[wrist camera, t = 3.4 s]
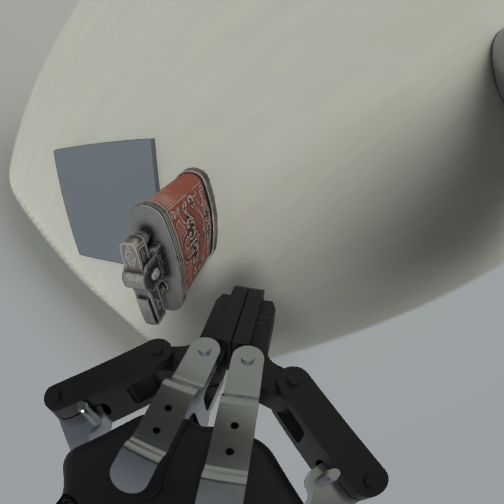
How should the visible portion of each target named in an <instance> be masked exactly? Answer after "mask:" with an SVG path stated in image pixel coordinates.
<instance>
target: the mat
mask: <svg viewBox="0 0 504 504" xmlns="http://www.w3.org/2000/svg"><path fill="white" fill-rule="evenodd" d="M54 157H55V162H56V168H57V173H58V178H59V182H60V187H61V191H62V196H63V200H64V204H65V208H66V211H67V215H68V219H69V222H70V226H71V229H72V232H73V236H74V239H75V242H76V245H77V248H78V251H79V254H80V255H83V256H87V257H92V258H97V259H101V260H106V261H111V262H116V263H121V264H124V261H123V258H122V255H121V251H120V244H121V243H122V242H123V241H125V240H126V239H127V238H128V237H129V230H128V213H129V212H130V210H131V209H132V208H133V207H135V206H136V205H137V204H139V203H140V202H142V201H147V200H148V199H150V198H151V197H152V196H154V195H155V194H156V193H158V192H159V191H160V189H159V181H158V172H157V162H156V151H155V139H154V138H152V139H137V140H125V141H114V142H105V143H96V144H89V145H82V146H75V147H68V148H62V149H57V150H55V151H54Z"/></svg>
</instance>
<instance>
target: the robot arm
mask: <svg viewBox="0 0 504 504" xmlns="http://www.w3.org/2000/svg"><path fill="white" fill-rule="evenodd" d="M492 61H493V70H494V74H495V79H496V82H497V85H498V88H499V92H500V94H501V96H502V98H503V101H504V29H503V30H501V31H500V32H499V33H498V34H497V36H496V37H495V40H494V43H493V49H492ZM274 317H275V307H274V304H273V302H272V301H265V300H264V290H261V289H254V288H250V289H249V288H247V287H241V286H234V289H233V291H232V294H231V295H228V294H223V295H221V296H220V297H219V298H218V299H217V300H216V302H215V304H214V307H213V309H212V311H211V314H210V316H209V318H208V320H207V323H206V325H205V327H204V330H203V332H202V334H201V336H200V338H198V339H196V340H195V341H193V342H192V343H191V345H188V346H179V347H171V345H170V343H169V342H168V341H166V340H164V339H153V340H150V341H148V342H146V343H144V344H142V345H140V346H138V347H136V348H134V349H132V350H130V351H128V352H125V353H123V354H121V355H119V356H117V357H115V358H113V359H111V360H108V361H106V362H104V363H102V364H100V365H98V366H95V367H93V368H91V369H89V370H87V371H84V372H82V373H80V374H78V375H76V376H73V377H71V378H69V379H66V380H64V381H62V382H60V383H57V384H55V385H53V386H51V387H49V388H48V389H47V391H46V393H45V395H44V402H45V405H46V406H47V407H48V408H49V409H50V410H51V411H52V412H53V413H54V414H55V415H56V416H57V417H58V418H59V421H60V424H61V426H62V429H63V432H64V435H65V437H66V440H67V442H68V445H69V447H70V450H71V451H70V452H69V453H68V455H67V456H66V458H65V460H64V464H63V473H64V489H63V494H62V496H61V498H60V499H59V501H58V502H57V503H56V504H303V502H302V500H301V499H300V497H299V496H298V494H297V492H296V491H295V489H294V488H293V486H292V485H291V483H290V482H289V480H288V478H287V477H286V475H285V473H284V472H283V470H282V468H281V467H280V465H279V463H278V462H277V460H276V458H275V456H274V455H273V453H272V452H271V451H270V449H269V448H268V447H267V446H265V445H264V444H263V443H262V442H260V441H259V440H257V439H255V438H254V433H255V426H256V419H257V412H258V404H259V403H260V404H263V405H264V406H266V407H268V408H270V409H272V412H273V414H274V415H275V417H276V418H277V420H278V421H279V423H280V424H281V426H282V427H283V429H284V430H285V432H286V434H287V435H288V436H289V438H290V439H291V441H292V442H293V444H294V445H295V447H296V448H297V450H298V451H299V453H300V454H301V455H302V457H303V458H304V460H305V461H306V462H307V464H308V465H309V467H310V468H311V469H312V470H311V471H310V472H309V473H308V474H307V475H306V477H305V480H304V486H305V488H306V490H307V494H308V497H307V501H306V503H305V504H355V503H357V502H358V501H361V500H364V499H368V498H371V497H374V496H377V495H378V494H380V493H382V492H383V491H384V490H385V488H386V486H387V484H388V474H387V472H386V471H385V469H384V468H383V467H382V466H381V464H380V463H379V462H378V461H377V460H376V459H375V457H374V456H373V455H372V454H371V452H370V451H369V450H368V449H367V448H366V446H365V445H364V444H363V443H362V442H361V440H360V439H359V438H358V436H357V435H356V434H355V433H354V432H353V430H352V429H351V428H350V427H349V425H348V424H347V423H346V422H345V420H344V419H343V418H342V417H341V415H340V414H339V413H338V412H337V410H336V409H335V408H334V406H333V405H332V404H331V403H330V401H329V400H328V399H327V398H326V396H325V395H324V394H323V392H322V391H321V390H320V389H319V387H318V386H317V385H316V383H315V382H314V381H313V379H312V378H311V377H310V376H309V374H308V373H307V372H306V371H305V370H303V369H302V368H299V367H287V368H285V369H284V368H282V367H280V366H278V365H276V364H274V363H273V362H272V361H271V360H270V359H269V357H268V351H269V346H270V341H271V336H272V331H273V325H274ZM226 369H227V370H229V371H228V376H227V381H226V385H225V390H224V393H223V394H222V395H221V398H220V402H219V406H218V411H217V415H216V420H215V424H214V427H207V425H208V421H209V415H210V411H211V410H212V407H213V405H214V403H215V400H216V398H217V396H218V393H219V391H220V389H221V386H222V384H223V378H224V375H225V372H226ZM149 404H150V405H149ZM147 405H149V407H148V409H147V411H146V413H145V414H144V415H141V416H139V417H136V418H134V419H132V420H131V421H129V422H127V423H125V424H123V425H121V426H119V427H117V428H115V429H113V430H111V427H112V422H114V421H116V420H118V419H120V418H122V417H125V416H127V415H129V414H131V413H133V412H135V411H137V410H139V409H141V408H143V407H145V406H147Z"/></svg>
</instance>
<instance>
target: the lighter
mask: <svg viewBox="0 0 504 504" xmlns="http://www.w3.org/2000/svg"><path fill="white" fill-rule="evenodd" d="M128 230H129V237H128V238H127V239H126V240H125V241H123V242H122V243H121V244H120V251H121V255H122V258H123V261H124V270H123V273H122V280H123V282H124V285H125V286H126V287H130V288H133V290H134V293H135V296H136V300H137V302H138V305H139V308H140V310H141V313H142V315H143V318H144V320H145V322H146V323H148V324H151V325H155V324H156V325H158V324H159V323H160V321H161V320H162V318H163V316H164V315H165V313H166V311H165V309H167V310H177V309H179V308H180V307H181V306H182V304H183V303H184V301H185V298H186V292H187V290H188V289H189V287H190V285H191V284H192V282H193V280H194V279H195V277H196V275H197V274H198V272H199V271H200V269H201V267H202V266H203V264H204V262H205V261H206V259H207V258H208V257H210V256H211V255H212V254H213V252H214V250H215V248H216V243H217V233H218V224H217V210H216V204H215V198H214V194H213V190H212V187H211V183H210V180H209V177H208V175H207V174H206V173H205V172H204V171H203V170H201V169H199V168H194V167H192V168H188V169H186V170H184V171H183V172H181V173H180V174H179V175H178V176H177V177H176V179H175V180H174V181H172V182H171V183H170V184H168V185H167V186H166V187H164V188H163V189H162V190H160V191H159V192H158V193H156V194H155V195H154V196H152V197H151V198H150V199H148V200H147V201H142V202H140V203H139V204H137V205H136V206H135V207H133V208H132V209H131V210H130V212H129V213H128Z"/></svg>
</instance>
